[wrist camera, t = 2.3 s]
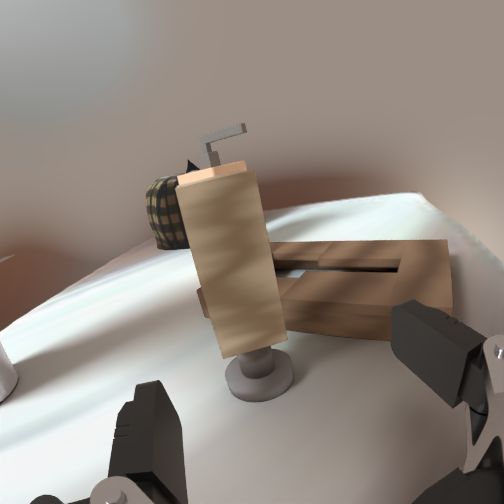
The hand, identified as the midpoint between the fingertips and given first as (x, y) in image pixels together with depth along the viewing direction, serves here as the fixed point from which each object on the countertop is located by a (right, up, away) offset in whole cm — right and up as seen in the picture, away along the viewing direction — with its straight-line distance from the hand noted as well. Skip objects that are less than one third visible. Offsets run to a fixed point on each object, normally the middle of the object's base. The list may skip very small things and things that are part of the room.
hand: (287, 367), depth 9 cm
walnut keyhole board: (+8, -1, +25) cm, 26 cm away
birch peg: (0, -6, +14) cm, 15 cm away
